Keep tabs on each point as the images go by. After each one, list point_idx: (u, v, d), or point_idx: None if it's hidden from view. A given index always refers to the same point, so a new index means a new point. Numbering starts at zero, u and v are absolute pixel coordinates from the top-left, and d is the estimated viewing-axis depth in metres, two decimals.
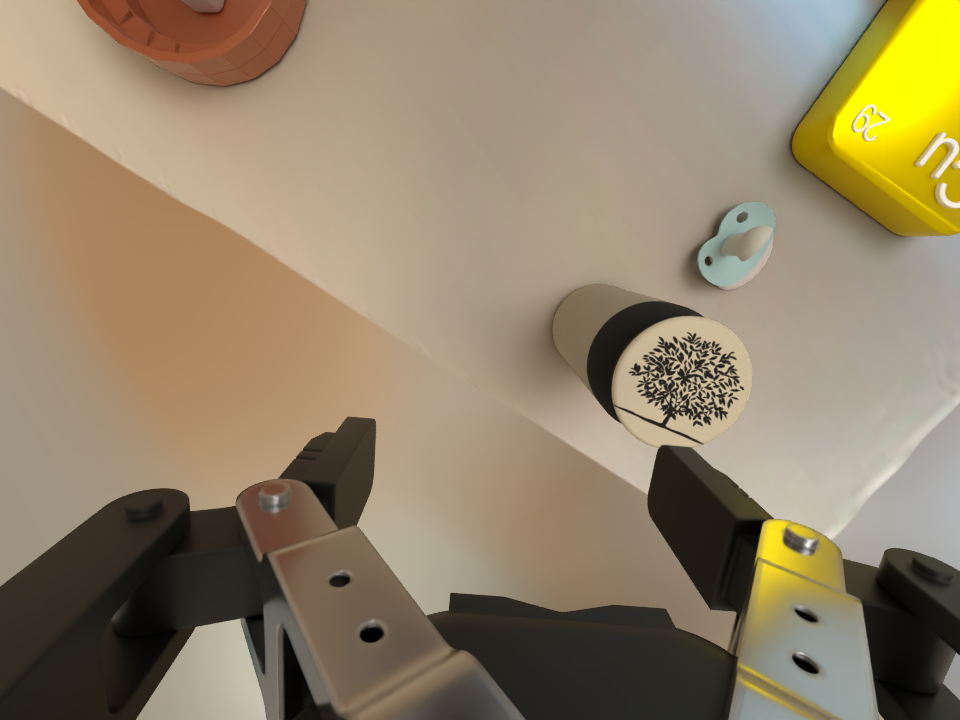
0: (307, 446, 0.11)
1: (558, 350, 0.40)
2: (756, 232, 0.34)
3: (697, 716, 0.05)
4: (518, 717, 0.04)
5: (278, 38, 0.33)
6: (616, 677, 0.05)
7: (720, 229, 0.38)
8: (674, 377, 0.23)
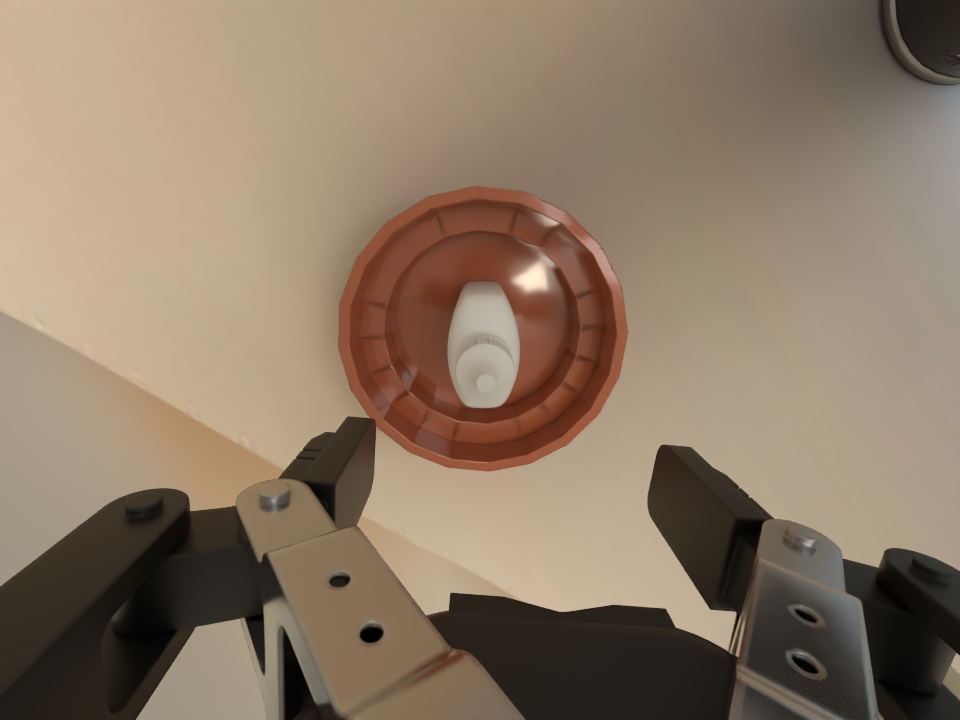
0: (307, 446, 0.11)
1: None
2: None
3: (698, 717, 0.05)
4: (517, 718, 0.04)
5: None
6: (616, 677, 0.05)
7: None
8: None
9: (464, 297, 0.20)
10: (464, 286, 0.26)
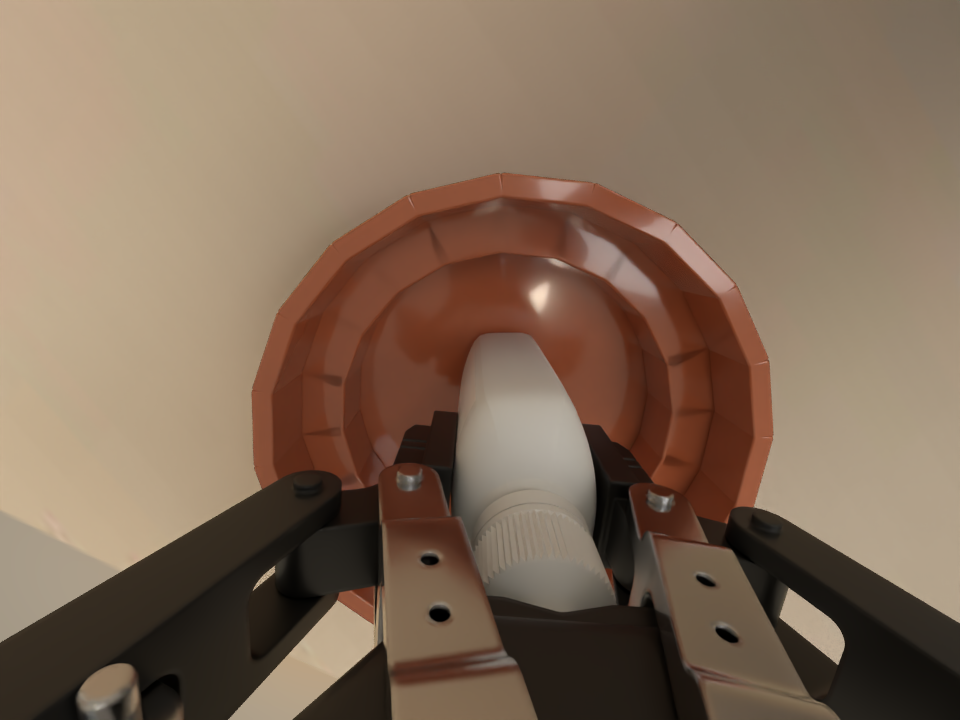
0: (405, 437, 0.12)
1: None
2: None
3: None
4: None
5: None
6: (616, 677, 0.05)
7: None
8: None
9: (485, 399, 0.10)
10: (477, 345, 0.15)
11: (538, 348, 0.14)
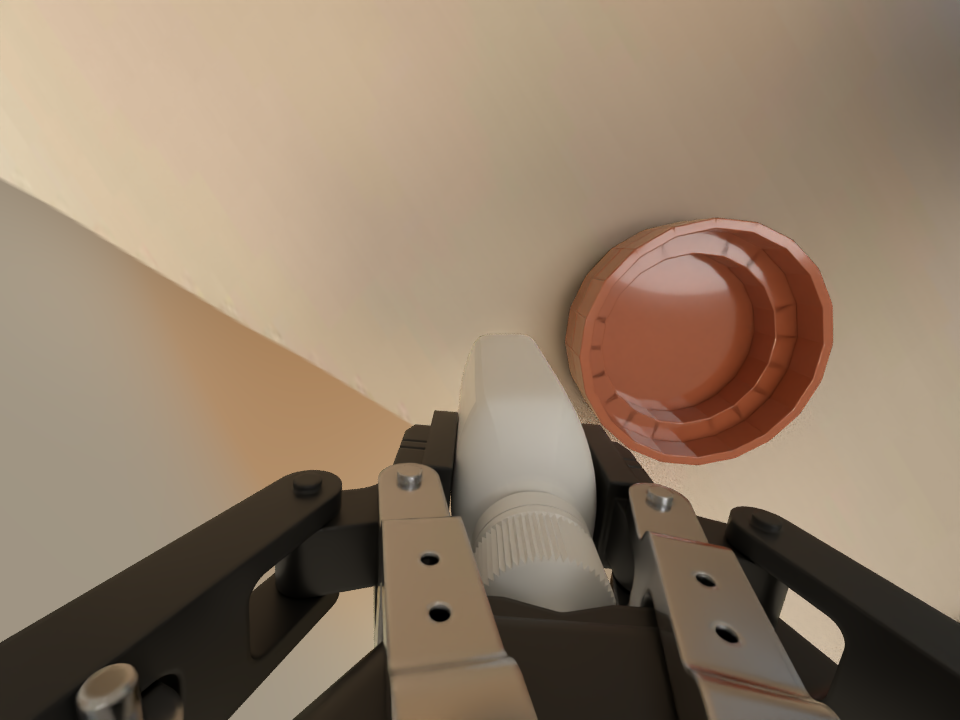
0: (405, 437, 0.12)
1: None
2: None
3: None
4: None
5: None
6: (616, 677, 0.05)
7: None
8: None
9: (485, 401, 0.10)
10: (477, 347, 0.15)
11: (538, 349, 0.14)
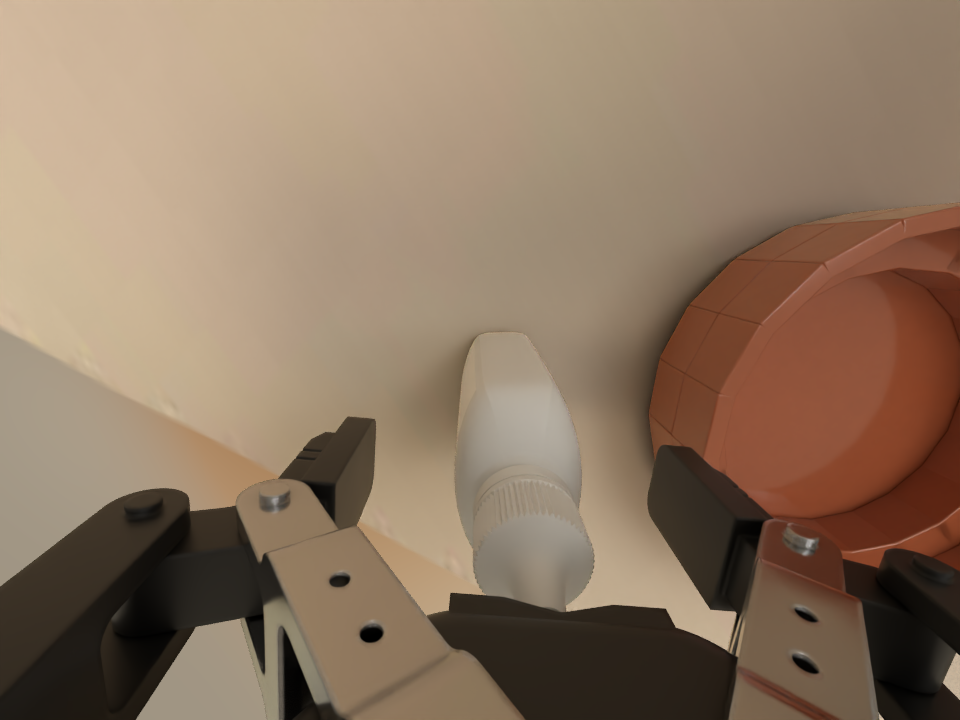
0: (307, 446, 0.11)
1: None
2: None
3: (698, 717, 0.05)
4: (517, 718, 0.04)
5: None
6: (616, 677, 0.05)
7: None
8: None
9: (484, 389, 0.11)
10: (476, 344, 0.17)
11: (532, 346, 0.16)
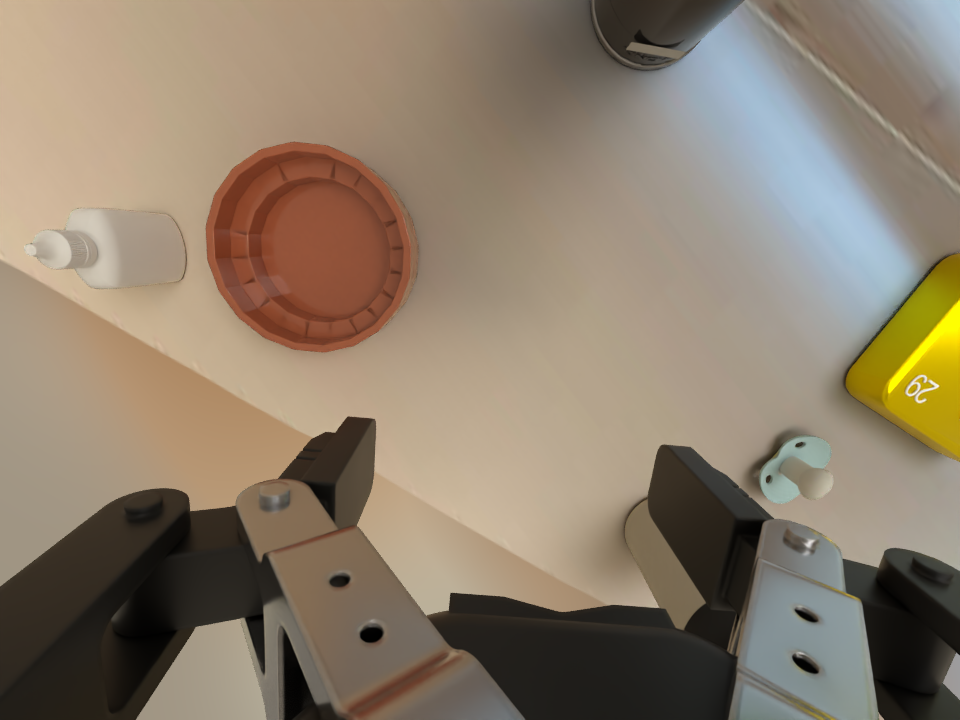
0: (307, 446, 0.11)
1: None
2: (819, 481, 0.38)
3: (698, 717, 0.05)
4: None
5: (395, 313, 0.37)
6: (616, 677, 0.05)
7: (780, 453, 0.42)
8: None
9: (74, 210, 0.30)
10: None
11: (150, 213, 0.35)
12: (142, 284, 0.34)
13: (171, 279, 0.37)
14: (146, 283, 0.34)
